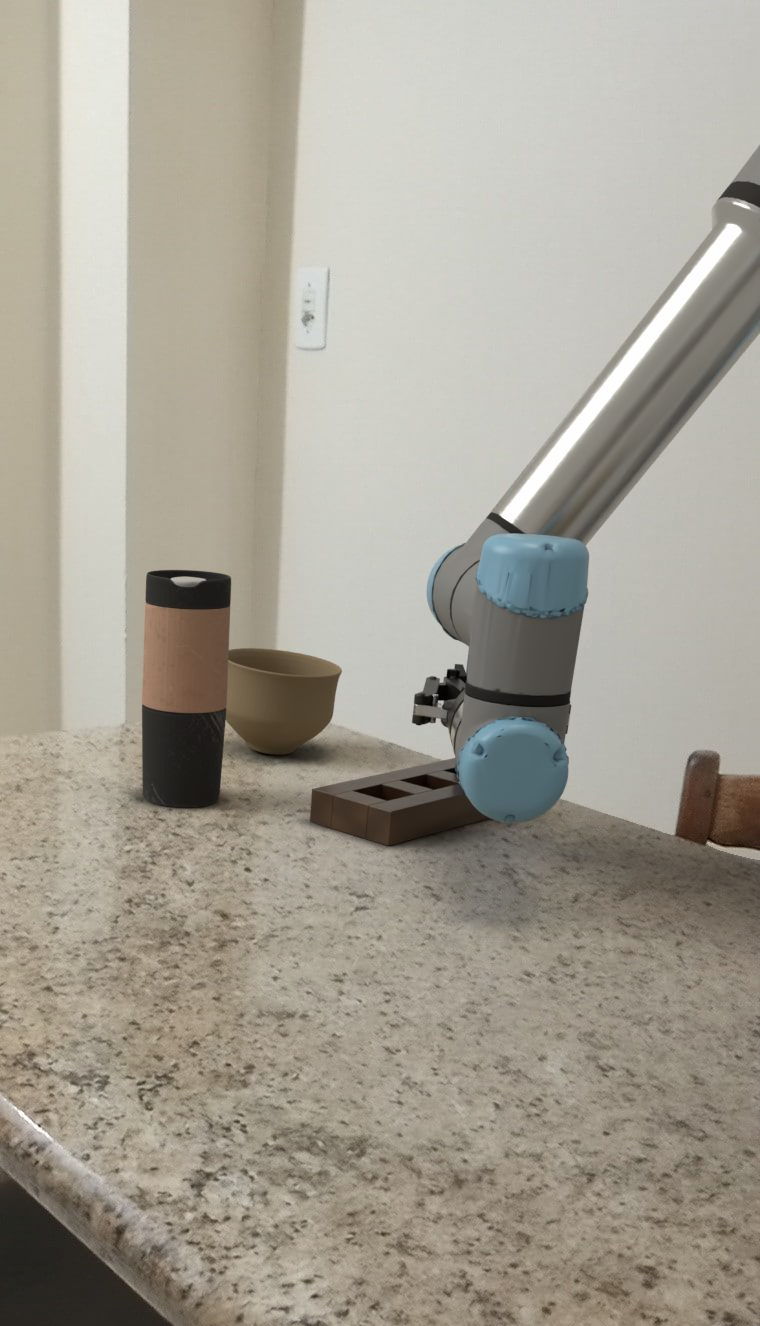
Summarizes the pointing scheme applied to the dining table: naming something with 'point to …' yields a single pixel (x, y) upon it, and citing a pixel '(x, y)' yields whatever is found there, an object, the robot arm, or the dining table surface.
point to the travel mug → (184, 686)
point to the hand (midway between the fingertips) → (477, 679)
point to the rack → (396, 804)
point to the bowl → (279, 697)
